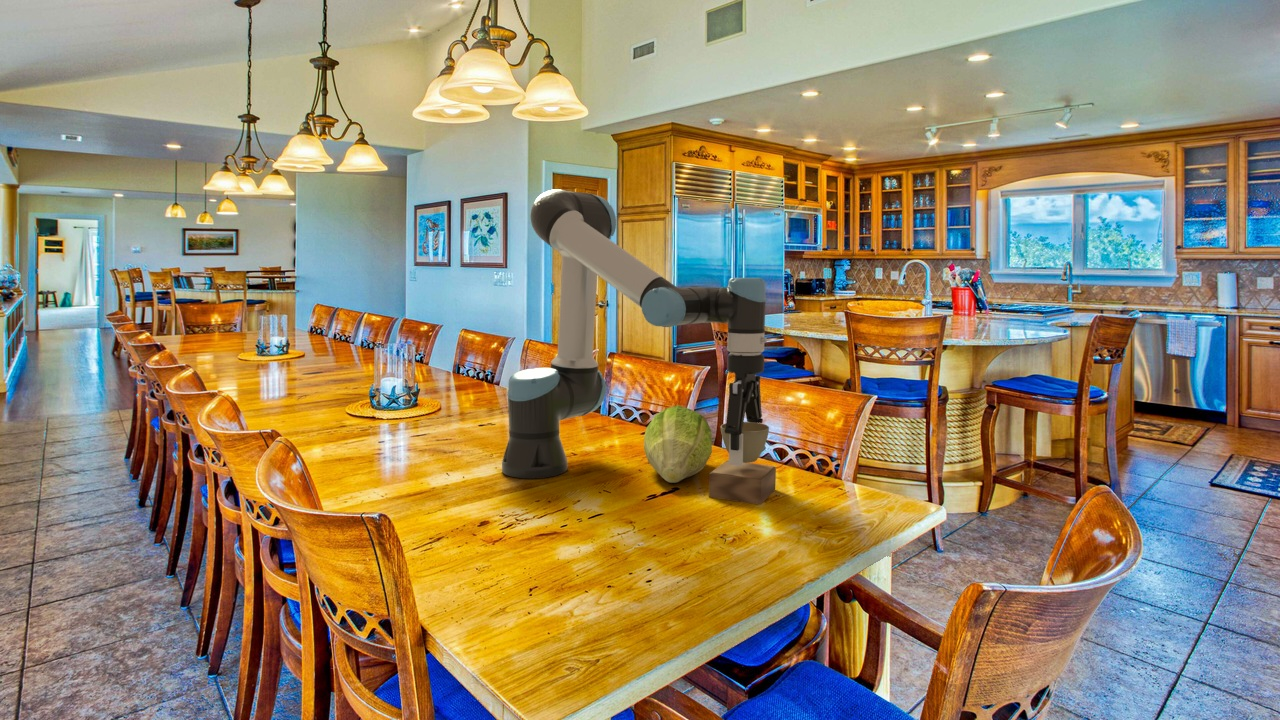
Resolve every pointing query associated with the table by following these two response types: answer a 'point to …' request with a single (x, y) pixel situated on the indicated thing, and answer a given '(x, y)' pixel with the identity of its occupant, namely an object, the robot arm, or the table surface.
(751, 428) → the flower pot
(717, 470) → the walnut block
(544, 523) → the table surface
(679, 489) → the table surface
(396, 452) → the table surface
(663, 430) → the lettuce
